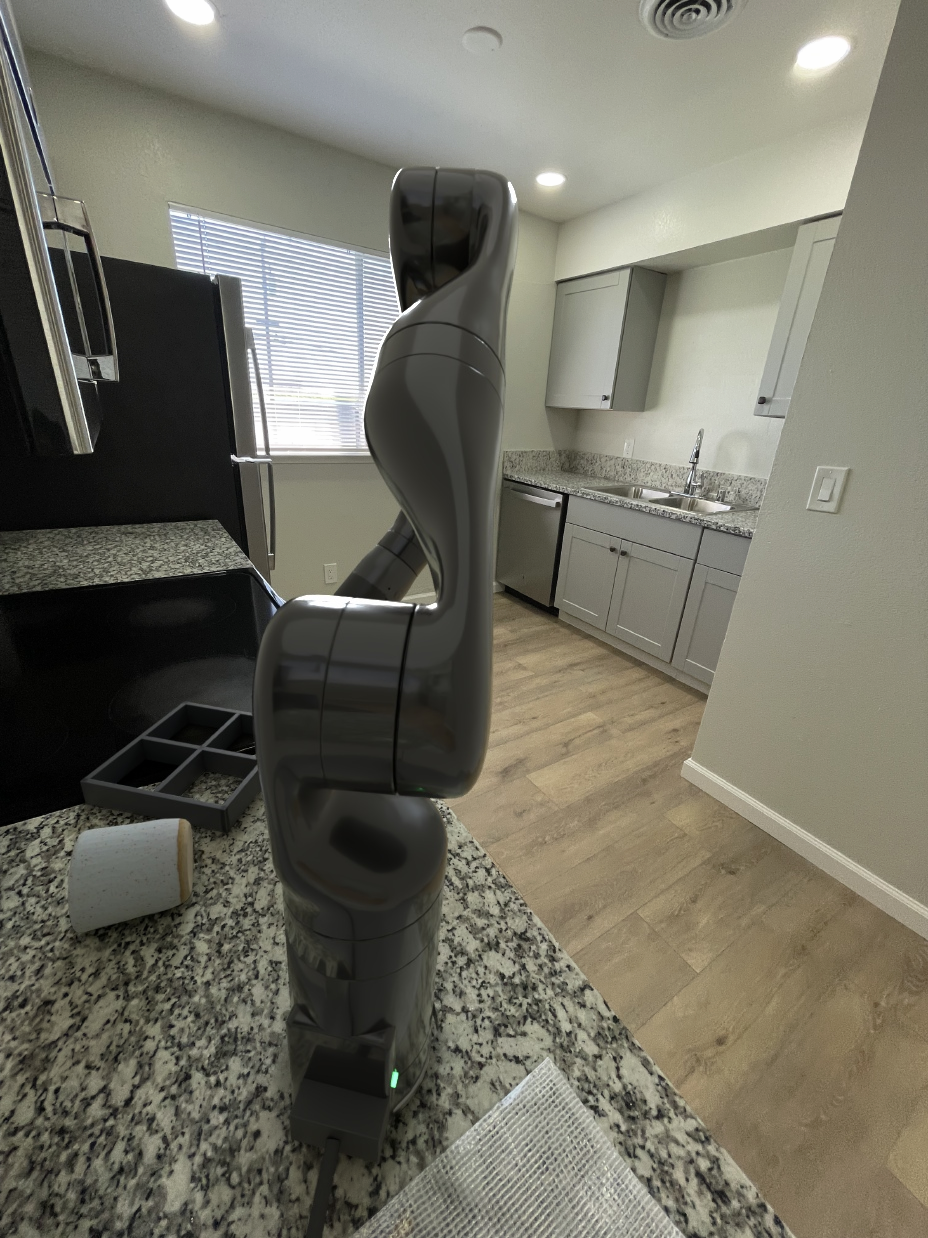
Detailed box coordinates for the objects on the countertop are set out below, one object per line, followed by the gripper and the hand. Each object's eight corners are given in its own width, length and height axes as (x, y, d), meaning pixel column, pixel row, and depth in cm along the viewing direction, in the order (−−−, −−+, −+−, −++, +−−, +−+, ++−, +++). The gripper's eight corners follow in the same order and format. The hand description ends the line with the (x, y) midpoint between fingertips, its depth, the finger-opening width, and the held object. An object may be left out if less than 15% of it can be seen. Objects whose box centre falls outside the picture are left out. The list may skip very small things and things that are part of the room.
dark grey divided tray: (227, 833, 52) (224, 810, 51) (85, 804, 54) (79, 781, 53) (300, 740, 67) (299, 721, 66) (187, 720, 69) (184, 701, 67)
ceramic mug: (195, 921, 43) (184, 852, 40) (77, 956, 40) (56, 884, 37) (198, 832, 52) (189, 770, 49) (101, 854, 48) (86, 789, 46)
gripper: (332, 557, 71) (252, 654, 68) (388, 588, 61) (297, 702, 58) (365, 587, 76) (292, 678, 73) (422, 620, 66) (340, 726, 64)
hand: (295, 688), depth 66 cm, fingers closed on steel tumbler, 5 cm apart
